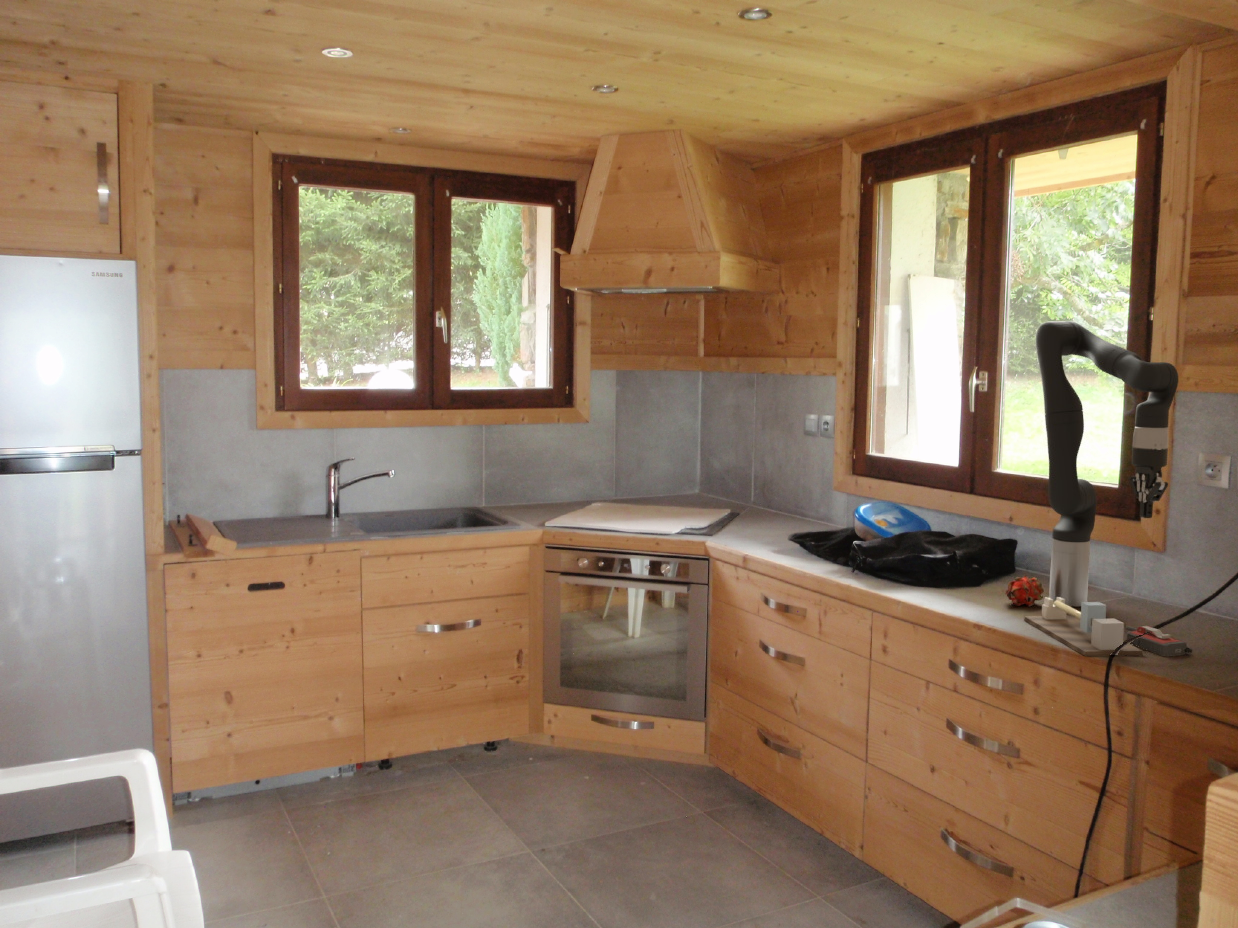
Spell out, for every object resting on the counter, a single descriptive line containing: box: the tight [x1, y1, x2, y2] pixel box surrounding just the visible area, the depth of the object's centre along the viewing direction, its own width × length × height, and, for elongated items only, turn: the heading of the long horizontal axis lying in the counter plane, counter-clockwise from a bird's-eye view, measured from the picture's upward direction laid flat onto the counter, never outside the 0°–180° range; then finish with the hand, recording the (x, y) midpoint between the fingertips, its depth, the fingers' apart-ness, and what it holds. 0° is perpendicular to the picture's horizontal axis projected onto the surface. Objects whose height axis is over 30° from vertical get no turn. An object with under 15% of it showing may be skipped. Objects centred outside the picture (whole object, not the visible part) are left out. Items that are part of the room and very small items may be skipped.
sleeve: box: [1080, 601, 1107, 633], centre depth 227 cm, size 3×4×6 cm
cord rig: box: [1041, 596, 1125, 650], centre depth 233 cm, size 28×5×6 cm, turn 2°
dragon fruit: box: [1004, 574, 1044, 608], centre depth 263 cm, size 8×8×12 cm
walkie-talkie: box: [1125, 625, 1193, 657], centre depth 227 cm, size 9×4×20 cm
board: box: [1023, 615, 1144, 657], centre depth 233 cm, size 30×13×1 cm, turn 2°
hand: (1146, 517), depth 239 cm, fingers closed
